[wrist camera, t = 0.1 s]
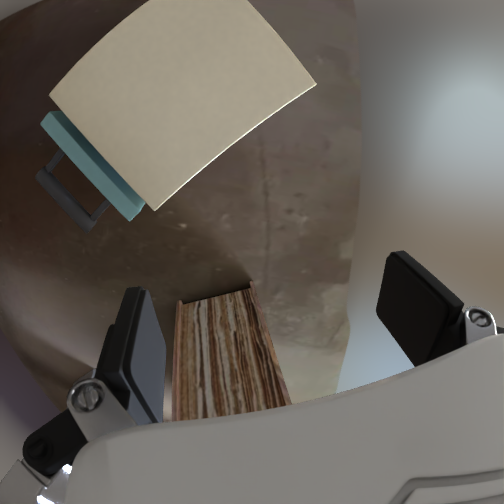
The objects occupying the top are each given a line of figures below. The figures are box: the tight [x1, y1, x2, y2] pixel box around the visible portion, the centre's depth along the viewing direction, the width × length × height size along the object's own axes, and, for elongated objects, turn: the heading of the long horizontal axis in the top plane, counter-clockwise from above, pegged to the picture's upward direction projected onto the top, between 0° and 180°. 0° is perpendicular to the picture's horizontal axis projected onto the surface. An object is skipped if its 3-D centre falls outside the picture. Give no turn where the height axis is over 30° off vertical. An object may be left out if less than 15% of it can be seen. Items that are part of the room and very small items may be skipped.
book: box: [172, 281, 292, 422], centre depth 26 cm, size 25×9×30 cm, turn 11°
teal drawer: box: [35, 111, 145, 234], centre depth 20 cm, size 17×10×8 cm, turn 127°
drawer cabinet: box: [49, 0, 316, 211], centre depth 19 cm, size 14×12×10 cm
